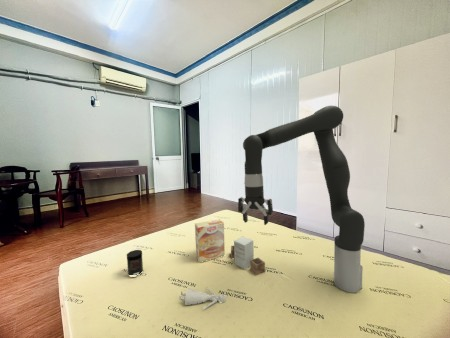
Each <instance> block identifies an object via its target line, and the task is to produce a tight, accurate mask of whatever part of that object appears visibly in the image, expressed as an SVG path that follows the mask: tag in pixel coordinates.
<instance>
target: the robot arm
mask: <svg viewBox="0 0 450 338" xmlns="http://www.w3.org/2000/svg"><path fill="white" fill-rule="evenodd" d="M343 119H344V112H343V110H342V109H341V108H340V106H339V107H338V106H337V105H326V106H324V107H322V108H320V109H318V110H316V111H315V112H314V113H313V114H310V115H308V116H306V117H303V118H301V119H298V120H293V121H291V122H287V123H285V124H281V125H277V126H275V127H272V128H270V129H268V130H266V131H264V132H260V133H258V134H251V135H248V136H247V137H245V138H244V140H243V143H242V148H243V150H244V156H245V159H244V160H245V161H244V183H243V184H244V195H245V197H243V196H240V197H239V198H238V201H237V202H238V203H237V206H238V207H237V209H238V210H237V211H238V213H242V220H243V221H244V223H245V224H246V223H248V219H249V218H248V211H249V209H250V210H259V211H260V212H261V214H263V215H264V216H263V225H264V226H267V225H268V224H269V220H270V219H269V216H271V215H273V213H274V208H273V207H274V206H273V199H272V198H269V199H266V198H264V195H265V194H264V192H265V191H264V176H263V166H262V163H263V162H262V160H263V150H265V149H267V148H270V147H277V146H279V145H282V144H284V143H287V142H289V141H292V140H294V139H297V138H301V137H303V136H305V135H307V134H310V133H314V138H315V140H316V144H317V147H318V153H319V157H320V162H321V168H322V171H323V176H324V180H325V184H326V188H327V189H326V190H327V192H328V197H329V203H330V214H331V218H332V221H333V222H334V224H335V225H336V226H337V227H339V230H338V235H336V236H335V237H334V241H333V243H334V244H333V245H334V250H333V251H334V255H333V256H334V257H333V258H334V259H333V260H334V261H333V263H334V264H333V265H334V266H333V283H334V285H335V286H336V287H337V288H338V289H340V290H342V291H344V292H347V293H353V294H354V293H358V292H359V291H361V290H362V289H363V271H364V270H363V268H364V267H363V265H361V257H362V256H361V249H362V245H363V243H364V238H365V237H364V236H365V229H366V228H365V225H366V223H365V218H364V216H363V215H362V213H361V212H359V211H357V210H355V209H353V208H352V207H351V204H350V200H349V195H348V189H349V185H350V181H351V172H350V167H349V162H348V160H347V157H346V155H345V154H344V152H343V151H342V149H341V148H340V147H339V145H338V143H337V141H336V137H335V133H334V129H336V128H338V127H339V126H340V125H341V124H342V123H343ZM244 203H245V204H246V205H245V207H244ZM264 204H265V205H266V206H267V208H266V207H265V205H264Z"/></svg>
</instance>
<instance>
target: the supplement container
mask: <svg viewBox="0 0 450 338" xmlns="http://www.w3.org/2000/svg"><path fill="white" fill-rule="evenodd" d="M126 263H127V264H126V265H127V275H128V274H129V275H137V274H140V273H141V272H142V271H143V272H144V267H143V265H144V263H143V251H142V250H141V249H135V250H131V251H129V252H127V254H126Z"/></svg>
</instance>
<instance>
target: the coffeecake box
mask: <svg viewBox="0 0 450 338" xmlns="http://www.w3.org/2000/svg"><path fill="white" fill-rule="evenodd" d="M194 232H195V237H194V238H195V256H196V257H195V258H196V259H197V261H198V260H199V261H198V263H199V262H202V261H205V262H207V261H206V260H209V261H211V260H210V259H213V260H215V259H214V258H216V259H218V258H217V257H220V258H222V257H221V256H224V255H226V253H225V252H226V251H225V223H224V221H222V220H221V219H214V220H208V221H201V222H196V223H194ZM224 257H225V256H224ZM202 263H203V262H202Z"/></svg>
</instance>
